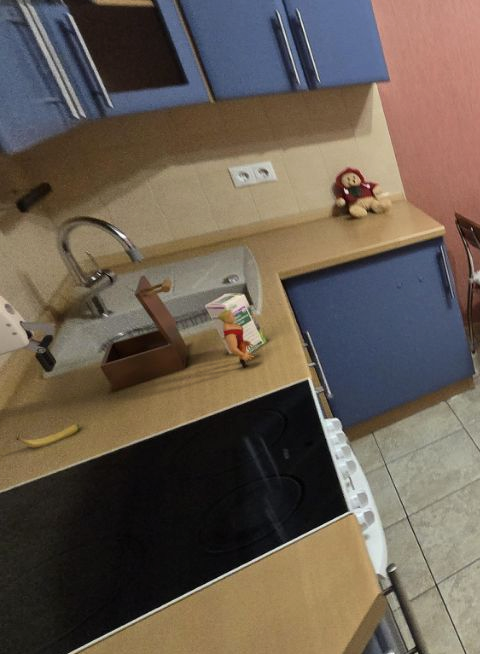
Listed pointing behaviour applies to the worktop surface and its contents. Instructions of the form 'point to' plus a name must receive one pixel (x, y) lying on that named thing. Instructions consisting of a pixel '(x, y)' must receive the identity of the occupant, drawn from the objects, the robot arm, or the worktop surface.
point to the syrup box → (237, 318)
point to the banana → (49, 437)
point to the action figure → (235, 337)
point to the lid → (156, 306)
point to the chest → (143, 358)
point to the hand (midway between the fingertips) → (15, 379)
